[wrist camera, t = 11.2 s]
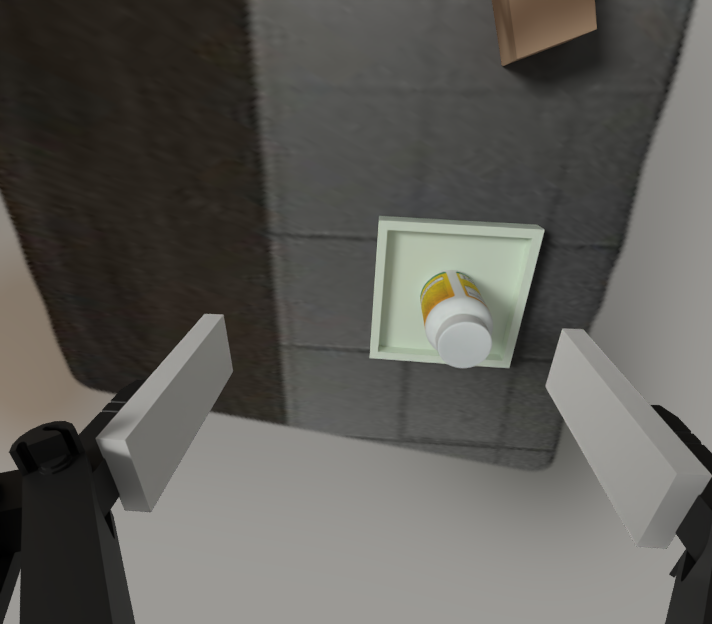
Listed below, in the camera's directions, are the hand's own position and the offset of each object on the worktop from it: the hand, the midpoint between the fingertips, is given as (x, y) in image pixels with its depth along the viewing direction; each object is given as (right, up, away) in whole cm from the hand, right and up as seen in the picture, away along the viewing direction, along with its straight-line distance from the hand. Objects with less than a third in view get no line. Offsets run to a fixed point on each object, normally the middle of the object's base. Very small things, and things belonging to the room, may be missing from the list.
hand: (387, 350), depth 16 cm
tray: (+8, +3, +22) cm, 24 cm away
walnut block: (+11, +23, +13) cm, 29 cm away
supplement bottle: (+8, +3, +22) cm, 24 cm away
